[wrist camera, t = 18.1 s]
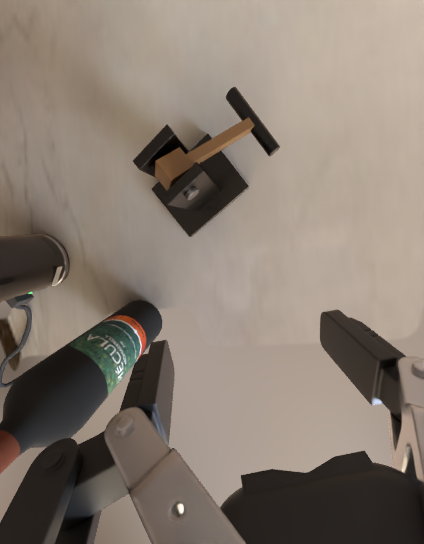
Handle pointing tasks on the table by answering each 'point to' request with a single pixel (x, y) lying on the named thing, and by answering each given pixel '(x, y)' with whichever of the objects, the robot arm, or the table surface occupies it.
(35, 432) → the wine bottle
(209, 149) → the lever
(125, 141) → the table surface
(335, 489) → the robot arm
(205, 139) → the bracket
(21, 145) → the table surface
